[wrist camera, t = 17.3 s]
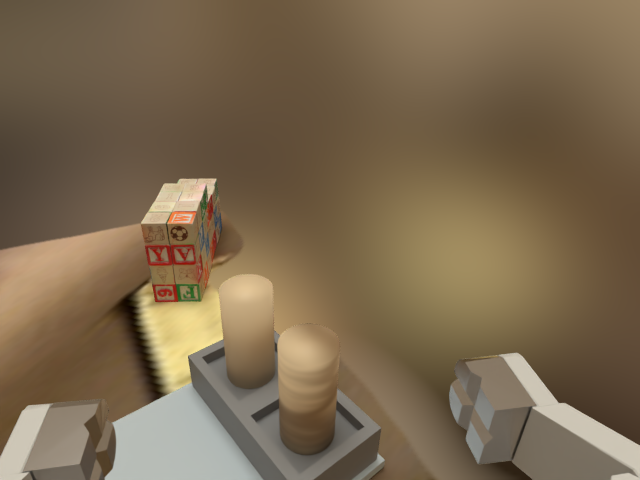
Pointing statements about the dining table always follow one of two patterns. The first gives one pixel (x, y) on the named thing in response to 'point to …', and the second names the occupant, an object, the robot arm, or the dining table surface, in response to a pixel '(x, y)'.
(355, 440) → the grey socket tray board
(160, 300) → the stack of blocks
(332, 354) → the beech post
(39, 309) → the dining table surface
